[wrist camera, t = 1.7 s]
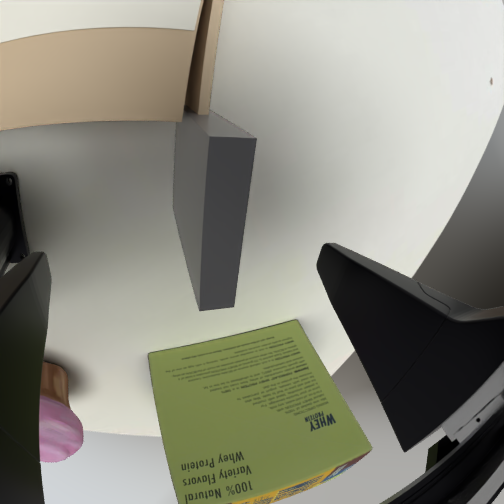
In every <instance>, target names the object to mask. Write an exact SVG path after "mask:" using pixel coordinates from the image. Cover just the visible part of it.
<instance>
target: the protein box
mask: <svg viewBox="0 0 504 504" xmlns="http://www.w3.org/2000/svg"><path fill="white" fill-rule="evenodd" d="M148 360H149V368H150V375H151V381H152V387H153V393H154V399H155V405H156V410H157V415H158V421H159V426H160V430H161V435H162V440H163V445H164V449H165V454H166V458H167V462H168V466H169V470H170V475H171V479H172V482H173V486H174V490H175V493H176V497H177V500H178V504H270V503H273V502H276V501H279V500H282V499H284V498H287V497H290V496H292V495H295V494H298V493H300V492H303V491H306V490H308V489H311V488H313V487H316V486H318V485H320V484H322V483H325V482H327V481H329V480H331V479H333V478H336V477H337V476H339V475H340V474H342V473H343V472H345V471H346V470H348V469H349V468H350V467H351V466H353V465H354V464H356V463H357V462H358V461H359V460H361V459H362V458H363V457H364V456H365V455H367V454H368V453H369V452H370V451H371V450H372V446H371V444H370V442H369V441H368V439H367V437H366V435H365V434H364V432H363V430H362V429H361V427H360V425H359V423H358V422H357V420H356V419H355V417H354V415H353V413H352V412H351V410H350V409H349V407H348V405H347V403H346V402H345V400H344V398H343V397H342V395H341V393H340V392H339V390H338V388H337V386H336V385H335V383H334V381H333V380H332V378H331V376H330V374H329V373H328V371H327V369H326V368H325V366H324V364H323V363H322V361H321V359H320V357H319V356H318V354H317V352H316V351H315V349H314V348H313V346H312V344H311V342H310V341H309V339H308V337H307V336H306V334H305V332H304V330H303V328H302V327H301V325H300V323H299V322H298V320H293V321H290V322H286V323H283V324H279V325H275V326H271V327H267V328H263V329H259V330H255V331H251V332H247V333H243V334H239V335H235V336H230V337H226V338H221V339H217V340H212V341H208V342H204V343H199V344H194V345H189V346H184V347H179V348H174V349H169V350H163V351H158V352H152V353H149V354H148Z"/></svg>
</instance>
